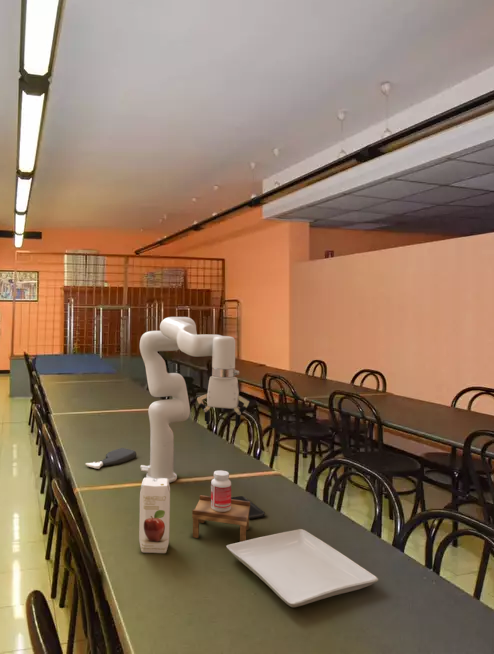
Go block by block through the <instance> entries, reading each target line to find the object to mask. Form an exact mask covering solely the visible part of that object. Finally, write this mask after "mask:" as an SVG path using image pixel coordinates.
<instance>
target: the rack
mask: <svg viewBox="0 0 494 654" xmlns="http://www.w3.org/2000/svg"><path fill="white" fill-rule="evenodd" d="M249 501H250V500H249ZM249 501H242V500H234V499H231V509H230V510H229V511H227V512H217V511H215V510H213V509H212V508H211V495H203V494H200V495H199V500H198V502H197V504H196V506H195V508H194V509H193V508H192V513H191V516H192V517H191V519H192V538H195V539H198V538H199V536H200V523H201V524H205V523H206V521H209V522H216V523H223V524H229V525H237V526H239V542H242V541H246V540H247V531H249V529H250V519H249V512H250V502H251V501H250V502H249Z"/></svg>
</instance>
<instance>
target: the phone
mask: <svg viewBox="0 0 494 654" xmlns="http://www.w3.org/2000/svg"><path fill="white" fill-rule="evenodd" d="M231 499H234V500H242V501H249V502H250V512H249V520H252V519H260V518H264V517H265V516H266V515H265V514H266V513H265V511H263V510H262V509H261V508H260V507H258V506H257V505H255V503H253V502H252V501H251V500H249V499H248V498H246V497H245V496H243V495H238V496H231Z"/></svg>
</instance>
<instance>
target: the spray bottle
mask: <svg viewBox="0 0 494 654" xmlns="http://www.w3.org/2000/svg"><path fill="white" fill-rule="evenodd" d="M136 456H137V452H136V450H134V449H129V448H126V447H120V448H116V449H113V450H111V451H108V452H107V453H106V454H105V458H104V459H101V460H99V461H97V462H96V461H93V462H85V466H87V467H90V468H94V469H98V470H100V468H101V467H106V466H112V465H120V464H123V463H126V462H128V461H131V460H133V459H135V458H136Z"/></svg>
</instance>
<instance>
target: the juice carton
mask: <svg viewBox="0 0 494 654" xmlns="http://www.w3.org/2000/svg"><path fill="white" fill-rule="evenodd" d="M139 491H140V493H139V524H138V525H139V526H138V527H139V528H138V531H139V533H138V542H139V548H140V550H141V553H144V554H145V553H146V554H151V553H154V554H166V553H167V550H168V547H169V543H170V519H171V518H170V517H171V515H170V514H171V513H170V512H171V487H170V483H169V480H168V479H167V478H159V479H153V478H146V476H144V478H143V479H142V481H141V485H140V490H139Z"/></svg>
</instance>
